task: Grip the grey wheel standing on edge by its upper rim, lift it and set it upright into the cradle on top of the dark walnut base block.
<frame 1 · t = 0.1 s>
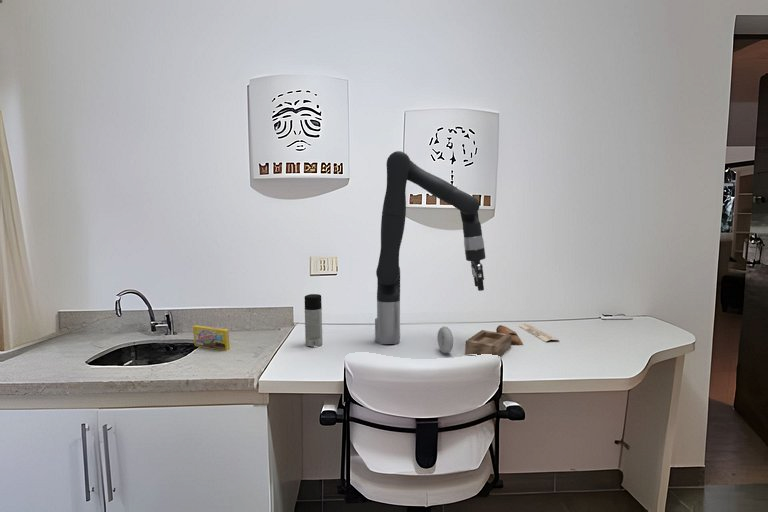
hand: (479, 288, 176), 22 cm above the table, tool pointing down, fingers open, 8 cm apart
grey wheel: (445, 353, 168), on the table
spray can: (314, 345, 178), on the table
candy box: (211, 348, 175), on the table
newspaper: (536, 335, 192), on the table
sunglasses case: (509, 340, 185), on the table
walnut base: (488, 350, 170), on the table
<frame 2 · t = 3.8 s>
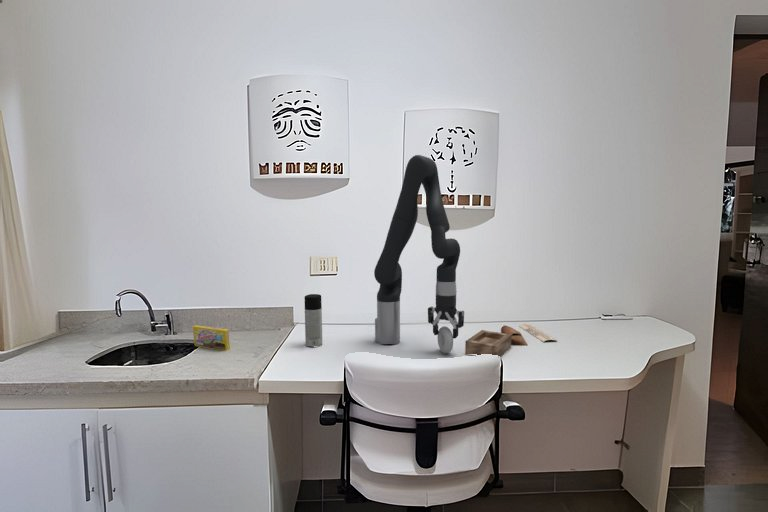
hand: (445, 336, 167), 6 cm above the table, tool pointing down, fingers closed on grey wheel, 7 cm apart
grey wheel: (445, 353, 168), on the table, touching gripper
sunglasses case: (513, 340, 185), on the table
everything else where it was.
when the fingers open (11 cm above the table, at t = 9.9 s): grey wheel drops 1 cm, resting on walnut base.
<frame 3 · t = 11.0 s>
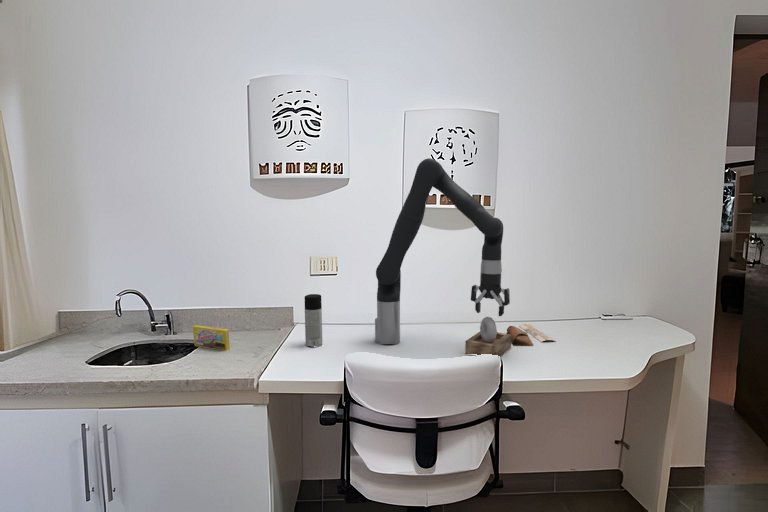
hand: (489, 314, 169), 14 cm above the table, tool pointing down, fingers open, 8 cm apart
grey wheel: (487, 343, 170), point 3 cm above the table, touching walnut base
sunglasses case: (519, 340, 184), on the table
everything else where it was.
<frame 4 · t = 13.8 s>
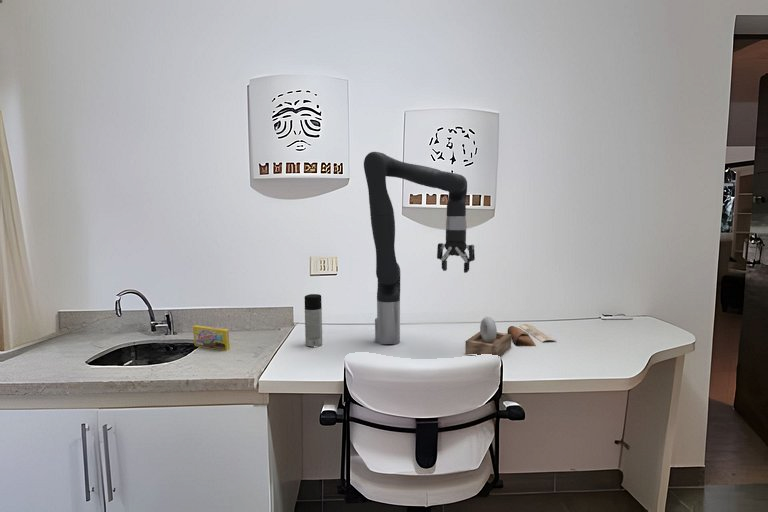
hand: (455, 271, 169), 30 cm above the table, tool pointing down, fingers open, 8 cm apart
at the end: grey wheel inside the target area on the walnut base (0.3 cm from its centre), point 2.8 cm above the walnut base's base; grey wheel touching walnut base; the gripper is holding nothing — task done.
